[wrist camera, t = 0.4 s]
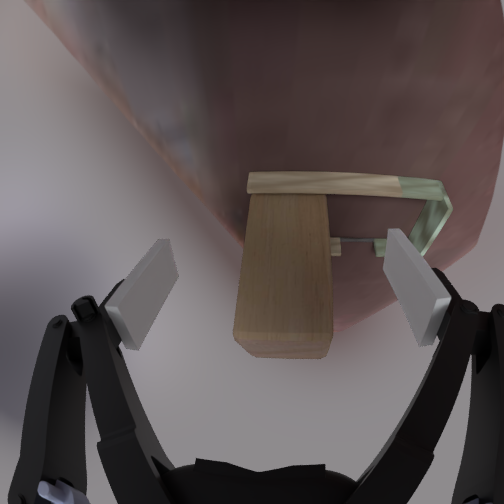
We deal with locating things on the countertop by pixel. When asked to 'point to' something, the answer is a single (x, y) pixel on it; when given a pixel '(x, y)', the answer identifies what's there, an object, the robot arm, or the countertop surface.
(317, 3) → the countertop surface
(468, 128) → the countertop surface
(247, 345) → the wooden block
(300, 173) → the trap lane
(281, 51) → the countertop surface
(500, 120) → the countertop surface
